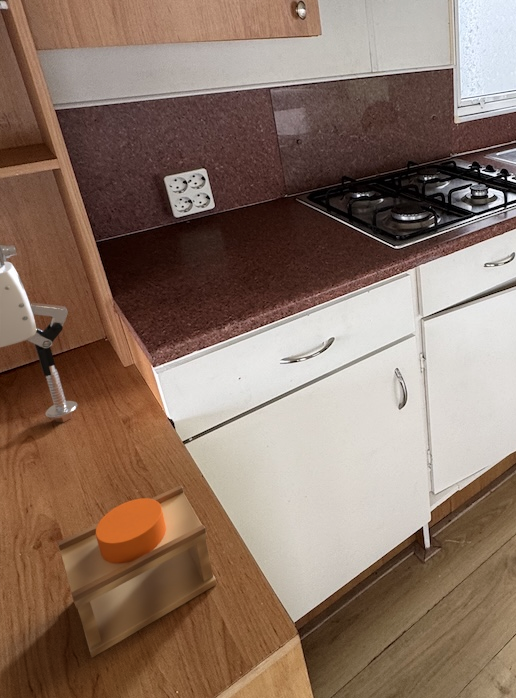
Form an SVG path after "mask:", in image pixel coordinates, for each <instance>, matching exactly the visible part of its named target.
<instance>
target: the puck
mask: <svg viewBox="0 0 516 698" xmlns="http://www.w3.org/2000/svg"><path fill="white" fill-rule="evenodd" d="M165 532H166V525H165V520H164V516H163V512H162V508H161V505H160V504H159V503H158V502H157V501H155V500H153V499H151V498H145V497H144V498H135V499H132V500H129V501H126V502H124V503H121V504H119V505H118V506H116V507H114V508H112V509H111V510H110V511H108V512H107V513H106V514H105V515H104V516H103V517H102V518H101V519H100V520H99V522H98V525H97V528H96V533H95V534H96V538H97V542H98V545H99V549H100V552H101V555H102V557H103V559H104V560H106V561H108V562H110V563H126V562H130V561H133V560H135V559H137V558H139V557H141V556H143V555H145V554H147V553H149V552H150V551H152V550H153V549H154V548H155V547H156V546H157V545H158V544H159V543H160V542H161V540H162V539H163V537H164V535H165Z"/></svg>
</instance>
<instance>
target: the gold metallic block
mask: <svg viewBox="0 0 516 698" xmlns="http://www.w3.org/2000/svg"><path fill="white" fill-rule="evenodd" d="M150 499H153V500H155V501H157V502H158V503H159V504H160V505H161V508H162V512H163V516H164V520H165V525H166V532H165V535H164V537H163V539H162V540H161V542H160V543H159V544H158V545H157V546H156V547H155V548H154V549H153V550H152V551H150V552H149V553H147V554H145V555H143V556H141V557H139V558H137V559H135V560H133V561H130V562H126V563H110V562H108V561H106V560H104V559H103V557H102V555H101V552H100V549H99V545H98V542H97V538H96V534H95V533H96V528H97V525H98V523H99V522H98V523H95V524H93V525H91V526H88V527H87V528H84V529H82V530H80V531H78V532H76V533H73V534H72V535H70V536H67V537H65V538H63V539H61V540H59V541H57V546H58V549H59V552H60V556H61V559H62V563H63V567H64V571H65V574H66V577H67V582H68V585H69V590H70V593H71V597H72V600H73V604H74V607H75V609H77V611H78V616H79V618H80V622H81V625H82V629H83V632H84V636H85V639H86V644H87V647H88V650H89V654H90V657H91V658H94V657H96V656H97V655H100V654H102V653H103V652H105V651H106V650H108V649H109V648H111V647H113V646H115V645H117V644H118V643H120V642H122V641H123V640H125V639H127V638H128V637H130V636H131V635H133V634H135V633H137V632H139V631H140V630H142V629H144V628H145V627H147V626H149V625H150V624H152V623H154V622H156V621H157V620H159V619H160V618H162V617H164V616H166V615H167V614H169V613H171V612H172V611H174V610H176V609H178V608H179V607H181V606H183V605H185V604H186V603H188V602H189V601H191V600H193V599H195V598H196V597H198V596H200V595H201V594H203V593H205V592H206V591H208V590H210V589H211V588H213V587H215V586H217V585H218V583H217V578H216V577H215V575H214V572H213V568H212V563H211V558H210V553H209V548H208V547H209V546H208V543H207V539H208V533H207V528H206V527H205V525H204V524H202V522H201V521H200V518H199V517H198V515H197V514H196V512H195V509H194V508H193V506H192V504H191V503H190V501H189V500H188V498H187V496H186V494H185V492H184V487H183V486H182V485H181V484H180V485H179V484H178V485H177V486H175V487H173V488H171V489H169V490H167V491H164V492H163V493H160V494H158V495H156V496H153V497H151V498H150Z"/></svg>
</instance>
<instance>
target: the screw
mask: <svg viewBox="0 0 516 698" xmlns="http://www.w3.org/2000/svg"><path fill="white" fill-rule="evenodd" d="M49 368H50V372H51V375H49V376H45V379H46V382H47V386H48V387H49V388H48V390H49V392H50V395H51V398H52V399H51V400H52V403H53V405H51V406H50V407H49V408H48V409H47V410H45V417H46V418H47V419H50V420H51V419H52V420H54V421H55V423H65V422H67V421H69V420H71V419H73V413H74V412H75V411H77V409H78V408H79V407H78V406H79V404H78V403H77V402H76V401H74V400H66V396H65V394H64V388H63V386H62V383H61V377H60V374H59V372H58V369H57V368H56V366H55V365H53V366H50V367H49Z"/></svg>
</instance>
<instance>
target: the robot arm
mask: <svg viewBox="0 0 516 698" xmlns="http://www.w3.org/2000/svg"><path fill="white" fill-rule="evenodd" d="M15 256H18V252H17V249H16V247H15V244H13V245H12V244H11V245H3V244H2V243H0V349H1V348H4V347H8V346H13V345H15V344H19V343H22V342H25V341H27V342H29V343H31V344H34V346H35V350H36V354H37V356H38V361H39V365H40V367H41V370H42V372H43V376H44V377H47V376H49V375H51V372H50V368H49V367H50V366H53V365H54V366H55V365H56V362H55V359H54V355H53V352H52V346H53V342H54V341H55V339H56V338H57V337H58V336H59V335H60V333H61V332H62V331H63V329H64V328H63V327H64V324H65V322H66V319H67V317H68V315H69V311H68V308H67V307H66V306H63V305H56V304H49V303H47V304H46V303H39V302H33V301H32V302H31V301H30V300H29V298H28V295H27V291H26V290H25V286H24V284H23V282H22V280H21V277H20V275H19V273H18V272H17V269H16V268H15V266H14V265H13V263H12V262H9V261H8V260H7V259H10V258H11V257H15ZM34 315H35V316H42V317H52V318H51V322H49V324H48V325H47V326H46V327H45V329H44V330H42V329H41V328H38V327H37V325H36V320H35V316H34Z"/></svg>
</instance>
